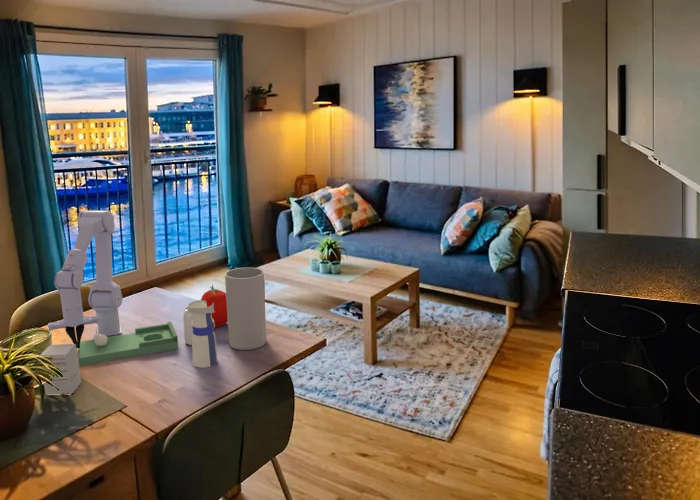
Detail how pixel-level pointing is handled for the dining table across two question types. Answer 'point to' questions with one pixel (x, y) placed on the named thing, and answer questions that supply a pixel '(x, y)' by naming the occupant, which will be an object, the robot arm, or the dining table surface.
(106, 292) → the robot arm
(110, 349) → the green mini golf board
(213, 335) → the water bottle
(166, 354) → the dining table surface
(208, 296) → the tomato
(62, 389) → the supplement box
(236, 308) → the cylinder vase
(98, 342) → the ball
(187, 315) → the can
